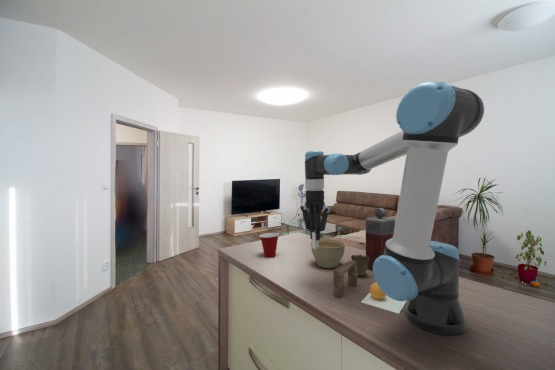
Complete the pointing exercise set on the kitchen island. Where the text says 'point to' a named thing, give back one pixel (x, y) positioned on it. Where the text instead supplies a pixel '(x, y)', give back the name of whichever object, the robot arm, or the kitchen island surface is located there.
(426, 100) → the robot arm
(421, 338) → the kitchen island surface
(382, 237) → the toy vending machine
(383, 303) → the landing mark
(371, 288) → the ball
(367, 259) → the green lump
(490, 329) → the kitchen island surface
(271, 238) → the plastic cup
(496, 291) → the kitchen island surface
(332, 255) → the planter bowl
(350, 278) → the bridge
